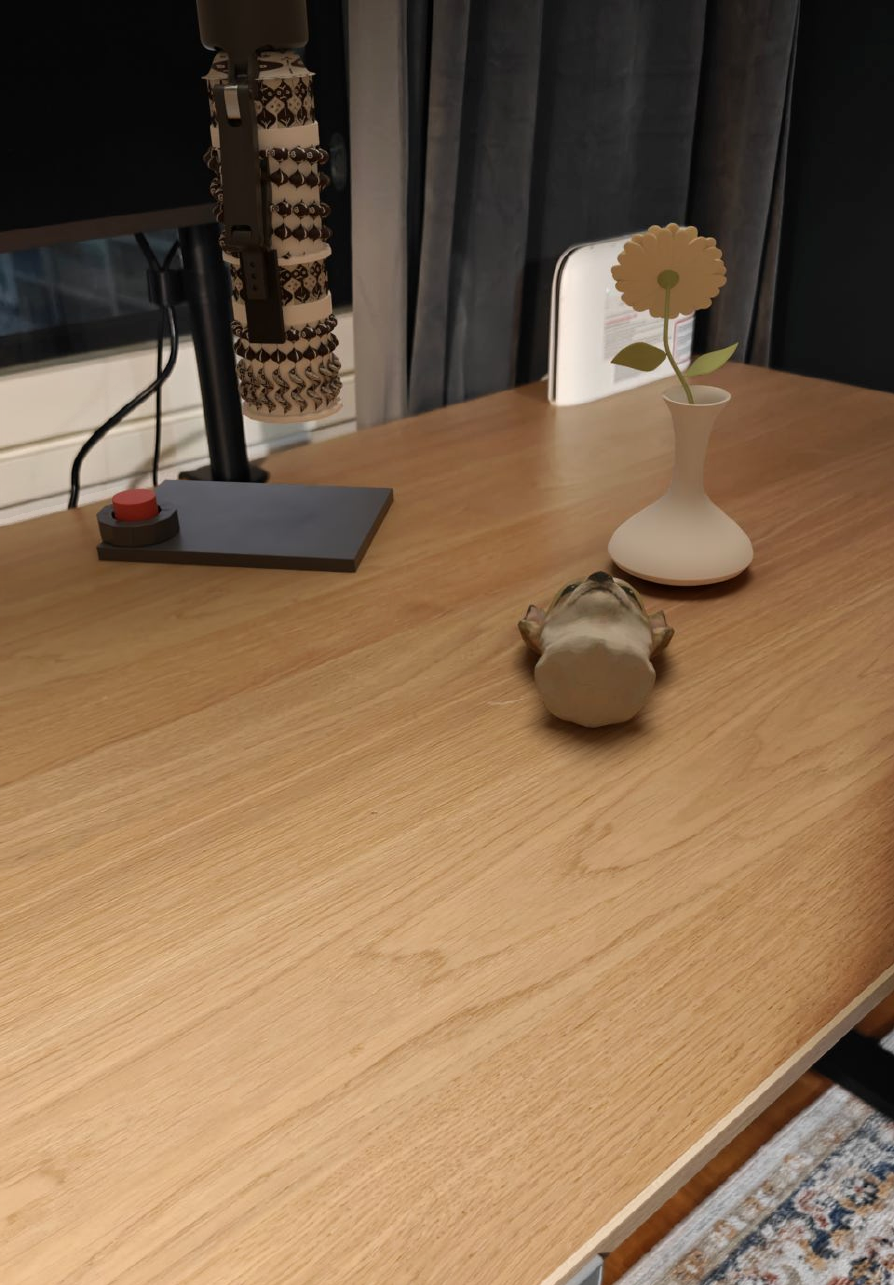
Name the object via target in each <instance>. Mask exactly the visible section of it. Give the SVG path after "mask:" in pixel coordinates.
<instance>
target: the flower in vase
mask: <svg viewBox="0 0 894 1285" xmlns="http://www.w3.org/2000/svg"><path fill="white" fill-rule="evenodd" d="M698 233H699V231H698V229H697V227H696V226H692V225H689V226H687V227H685V228H680V226H679V225H678V224H677V223H675V222H669V224H667V225H666V227H662V228H661V227H660V226H659V225H657V224H656V225H655V224H654V225H651V226H650V227H648V229H647V231H646V232H645V233H643V234H641V233H636V234H633V235H632V237H631V239H630V240H628V241H626V242H625V243H624V244H623V250H622V251H621V252H620V253H619V254H618V255H617V256H616V260H617V263H619V264H614V265H612V266H611V267H610V273H611V277H612V279H613V281H614V282H615V284H614V287H615V290H616V291H618V292H619V293H622V294H621V295H620V298H621V299H620V300H621V301H622V302H623V303H624V304H625V305H626V306H628V307H632V309H633V310H634V311H635V312H637V313H642V312H646V311H648V312H649V316H650V317H651V318H654V319H659V318H660V319H663V333H662V337H663V338H662V340H663V349H664V350H663V349H661V348H659V347H656V346H654V345H653V344H651V343H647V342H644V341H636V342H633V343H631V344H628V345H626V346H625V347H623V349H621V350H620V351H619V352H618V353H617V354H616V355H615V356H613V358H612V359H611V361H610V362H609V363H610V364H612V365H618V366H623V367H627V368H629V369H633V370H637V371H641V372H646V373H648V372H652V371H653V372H654V370H656V369H658V367H660V366H661V365H662V364H663V363H664V362H665V360H666V359H668V361H669V363H670V366H671V367H672V369H673V371H674V373H675V374H676V377H677V378H678V379H679V381H680V383H681V385H677V386H672V387H669V388H666V389H664V390H663V391H662V392H661V398H662V399H663V401H664V402H665V404H666V406H667V408H668V410H669V412H670V415H671V420H672V423H673V430H674V431H673V432H674V464H673V470H672V476H671V481H670V484H669V486H668V487H667V490H666V491H665V492H664V494H662V496H660V497H659V498H658V499H657V500H655V501H654V502H652V503H650V504H649V505H646V507H644V508H643V509H641V510H640V511H638V512H637V513H634V514H633V515H632V516H631V517H629V518H627V519H626V520H625V521H624V522H623V523H622V524H621V525H619V527H617V528H616V529H615V530H614V532H613V534H612V535H611V537H610V540H609V542H608V545H607V551H608V555H609V556H610V557H611V559H612V561H613V562H614V563H615V565H616V566H617V567H618V568H619V569H621V570H622V571H624V572H625V573H627V574H629V575H631V576H633V577H636V578H638V579H642V580H645V581H648V582H652V583H656V584H660V585H667V586H678V587H694V586H695V587H696V586H704V585H711V584H717V583H721V582H724V581H728V580H730V579H733V578H735V577H737V576H739V575H740V574H742V573H743V572H744V571H745V570H746V569H747V567H748V566H749V565H750V564H751V563H752V561H753V559H754V548H753V545H752V542H751V539H750V538H749V535H747V534H746V533H745V531H744V530H743V529H742V528H741V527H740V525H738V524H737V522H735V521H734V520H733V519H732V518H731V517H730V516H729V515H728V514H727V513H725V512H724V511H723V510H722V509H721V508H719V507H718V506H717V505H716V504H715V503H714V502H713V501H712V500H711V498H710V497H709V496H708V494H707V493H706V490H705V487H704V467H705V458H706V452H707V448H708V443H709V439H710V436H711V434H712V430H713V428H714V424H715V422H716V420H717V418H718V416H719V414H720V413H721V411H722V410H723V409H724V407H726V405H728V403H729V402H730V401H731V399H732V394H731V393H730V392H729V391H727V390H725V389H723V388H720V387H715V386H711V385H701V384H688V383H687V380H686V379H685V378H693V377H699V376H706V375H708V374H711V373H713V372H715V371H717V370H718V369H719V368H721V367H722V366H723V365H725V363H727V362H728V361H729V360H730V359H731V357H732V355H733V354H734V352H735V351H736V349H737V347H738V344H739V342H736V343H734V344H732V345H730V346H728V347H726V348H722V349H718V350H714V351H711V352H708V353H704V354H702V355H701V356H699V357H697V359H695V361H694V362H693V363H691V365H690V366H689V367H688V368H687V370H686V373H685V374H684V375H683V373H682V372H681V370H680V368H679V365H678V364H677V363H676V361H675V359H674V357H673V355H672V352H671V349H670V346H669V338H668V337H669V333H668V332H669V320H674V319H677V318H678V317H679V316H680V315H683V316H685V317H686V316H690V315H692V314H693V313H694V312H695V311H699V310H706V309H709V307H710V306H712V303H713V301H712V299H711V298H715V297H717V296H718V295H719V294H720V288H722V287H723V286H724V285H726V284H727V280H728V279H727V277H726V276H725V274H726V273H727V267H725V266H724V265H725V263H724V260H722V259H721V258H722V256H723V252H722V249H719V248H718V247H717V240H716V239H715V238H714V237H704V236H698Z"/></svg>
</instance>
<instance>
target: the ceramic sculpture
mask: <svg viewBox="0 0 894 1285" xmlns="http://www.w3.org/2000/svg"><path fill="white" fill-rule="evenodd" d="M517 627H518V631H519V633H520V635H521V638H522V640H523V641H524V643H525V644H526V646H528V647H529V648H530V649H532V650H533V651H534V652H536V653H537V654H538V655H540V656H541V657H539V659H538V662H537V663H536V665H535V666H534V670H533V671H534V674H533V675H534V681H535V685H536V688H537V691H538V694H539V696H540V698H541V700H542V702H543V704H544V705H545V706H546V708H547V710H548V711H549V712H550V713H551V714H552V715H553V716H555V717H556V718H558V719H561V720H562V721H566V722H572V723H574V724H576V725H579V726H583V727H585V728H593V729H596V728H599V727H604V726H609V725H613V724H621V723H624V722H627V721H628V720H631V719H632V718H634V717H635V715H636V714H638V713H639V711H640V710H641V709H642V708H643V707H644V706H645V704H646V702H647V701H648V699H649V697H650V695H651V693H652V690H653V689H654V686H655V683H656V678H657V675H656V674H657V673H656V670H655V669H654V666H653V663H652V662H651V661H650V660H651V659H653V658H655V657H656V656H658V655H660V653H663V651H665V649H666V648H668V647H669V644H670V643H671V642H672V639H673V637H674V634H675V629H674V627H672V626H670V625H668V623H667V620H666V615H665V612H664V610H663V609H661V610H658V611H656V612H655V613H652V614H649V615H648V613H647V610H646V608H645V605H644V601H643V599H642V596H641V595H640V593H639V592H638V591H637V590H636V588H635V587H633V586H632V585H631V584H630V583H629V582H627V581H625V580H623V579H621V578H618V577H613V576H611V574H609V573H608V572H605V571H602V570H599V571H595V572H592V573H591V574H590V575H588V576H579V577H576V578H573V579H572V580H570V581H568V582H567V583H565V584H563V585H562V586H561V587H560V588H559V589H558V590H557V592H556V593H555V595H554V597H553V599H552V601H551V603H550V605H549V607H548V609H547V610H543V609H541V608H538V607H536V605H534V604H532V603H531V604H529V605H528V608H527V611H526V614H525V617H523V619H520V620H519V621H518V623H517Z"/></svg>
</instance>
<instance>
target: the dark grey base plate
mask: <svg viewBox="0 0 894 1285" xmlns="http://www.w3.org/2000/svg"><path fill="white" fill-rule="evenodd" d="M152 491H153V492H154V493H155V494H156V500H157V506H158V511H159V514H158V515H157V516H155V517H152V518H150V519H147V520H141V521H135V522H132V521H119V520H116V519H115V514H114V508H113V503H110V504H107V505H105V506H103V507H102V508H101V509H100V510H99V511H98V512H97V513H96V515H95V517H96V520H97V526H98V530H99V535H100V538H101V540H102V541H101V542H100V543H99V544H97V546H96V552H97V556H98V561H106V562H107V561H109V562H110V561H111V562H131V563H148V564H149V563H151V564H167V565H168V564H172V565H189V566H190V565H191V566H192V565H195V566H209V567H210V566H212V567H230V568H231V567H233V568H251V569H253V568H254V569H269V570H270V569H272V570H273V569H274V570H292V571H293V570H294V571H310V572H311V571H312V572H334V573H351V574H352V573H356V572H357V570H358V568H359V566H360V564H361V562H362V561H363V558H364V557H365V555H366V553H367V551H368V549H369V547H370V546H371V544H372V542H373V540H374V538H375V536H376V534H377V532H378V531H379V528H380V527H381V525H382V523H383V521H384V519H385V517H386V516H387V513H388V511H389V510H390V508H391V506H392V504H393V502H394V501H395V500H394V488H393V487H374V486H372V487H370V486H349V485H348V486H345V485H319V484H317V485H316V484H295V483H294V484H293V483H268V482H267V483H266V482H240V481H215V480H214V481H213V480H212V481H211V480H191V479H190V480H189V479H188V480H187V479H164V480H162V482H161V483H160V484H158V485H157V487H156V488H155V489H154V490H152Z"/></svg>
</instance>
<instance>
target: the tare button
mask: <svg viewBox="0 0 894 1285" xmlns="http://www.w3.org/2000/svg"><path fill="white" fill-rule="evenodd" d="M153 491H154V490H150V489H146V488H133V489H132V488H131V489H127V490H126V489H125V490H121V491H119V492H117V493H115V494H114V495H113V496H112V497H111V504H113V508H114V514H115V519H116V520H119V521H132V522H135V521H141V520H147V519H150V518H152V517H155V516H157V515H158V514H159V511H158V506H157V500H156V494H155V493H154V492H153Z"/></svg>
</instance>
